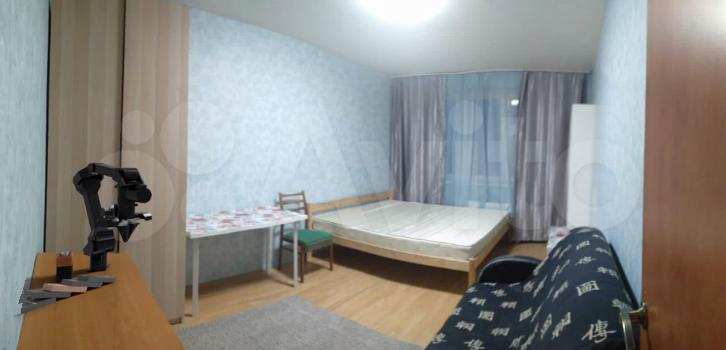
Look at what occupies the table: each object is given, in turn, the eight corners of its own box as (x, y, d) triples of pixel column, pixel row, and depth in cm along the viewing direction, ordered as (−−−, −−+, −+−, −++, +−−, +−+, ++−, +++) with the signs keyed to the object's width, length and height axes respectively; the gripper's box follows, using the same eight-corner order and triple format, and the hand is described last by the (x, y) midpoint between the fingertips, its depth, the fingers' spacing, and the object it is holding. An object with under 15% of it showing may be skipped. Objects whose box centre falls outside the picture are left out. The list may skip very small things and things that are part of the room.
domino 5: (105, 275, 128) (78, 274, 119) (116, 277, 127) (89, 276, 118) (103, 280, 128) (76, 279, 119) (114, 282, 127) (87, 281, 117)
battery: (55, 283, 123) (56, 255, 123) (57, 277, 128) (58, 250, 128) (72, 281, 126) (72, 253, 125) (73, 275, 131) (73, 249, 131)
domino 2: (44, 295, 109) (3, 307, 100) (56, 297, 108) (15, 310, 98) (44, 300, 109) (3, 313, 100) (55, 303, 108) (15, 316, 98)
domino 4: (92, 280, 124) (62, 278, 114) (102, 282, 122) (73, 281, 113) (90, 285, 123) (60, 284, 114) (101, 287, 122) (71, 286, 112)
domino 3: (78, 284, 119) (44, 283, 110) (87, 287, 117) (53, 285, 108) (76, 289, 118) (42, 288, 110) (85, 292, 116) (51, 291, 108)
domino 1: (62, 289, 114) (24, 289, 105) (71, 291, 112) (33, 292, 103) (60, 294, 114) (22, 295, 105) (69, 297, 112) (31, 298, 103)
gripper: (130, 197, 143) (129, 235, 144) (84, 201, 125) (83, 245, 126) (153, 199, 140) (152, 237, 141) (109, 204, 122) (108, 248, 123)
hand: (125, 242), depth 133 cm, fingers closed
